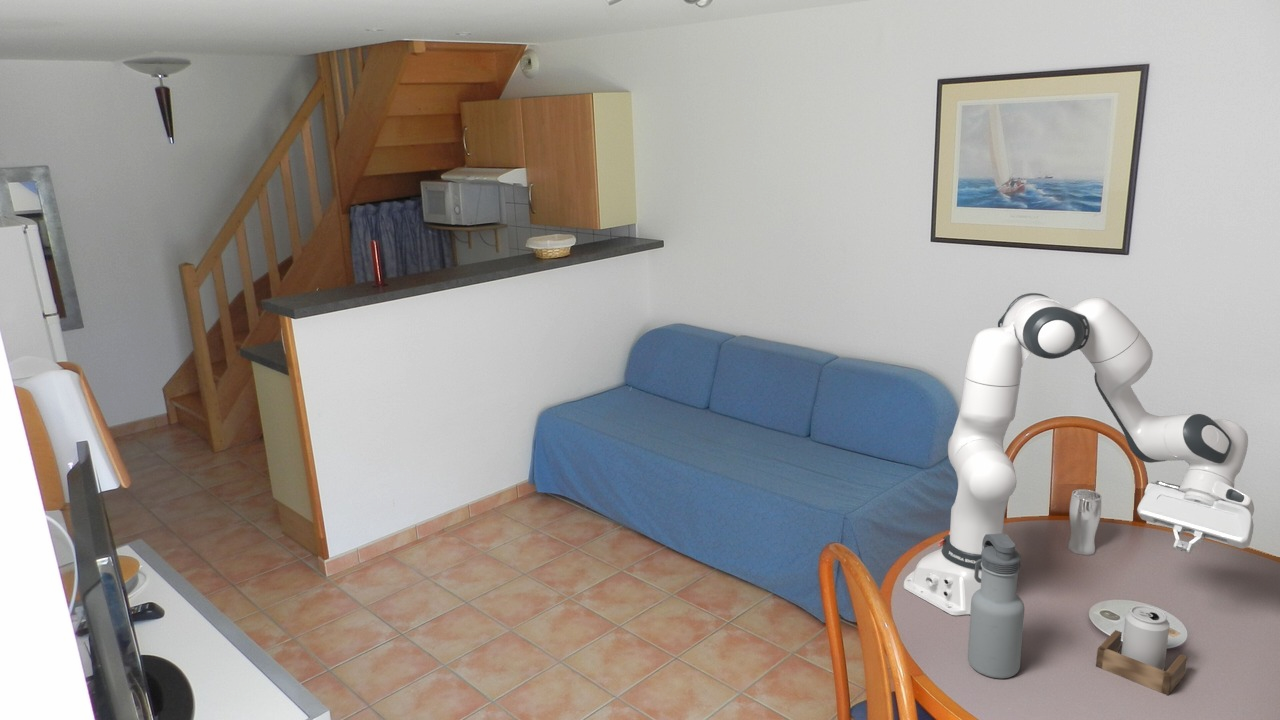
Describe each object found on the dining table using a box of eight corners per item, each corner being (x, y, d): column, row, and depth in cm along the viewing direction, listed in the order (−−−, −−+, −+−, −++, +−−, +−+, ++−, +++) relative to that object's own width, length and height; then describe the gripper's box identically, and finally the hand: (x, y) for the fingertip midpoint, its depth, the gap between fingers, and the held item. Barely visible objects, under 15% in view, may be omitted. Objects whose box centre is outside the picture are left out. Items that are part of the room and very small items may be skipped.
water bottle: (960, 650, 178) (967, 527, 170) (1007, 649, 177) (1016, 526, 170) (977, 681, 168) (985, 552, 160) (1027, 679, 167) (1038, 550, 160)
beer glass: (1098, 546, 216) (1103, 491, 212) (1095, 558, 211) (1101, 502, 207) (1067, 540, 220) (1072, 486, 216) (1064, 552, 214) (1069, 497, 210)
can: (1167, 680, 165) (1174, 626, 162) (1123, 673, 168) (1129, 619, 165) (1160, 658, 172) (1166, 605, 169) (1117, 651, 174) (1123, 599, 171)
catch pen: (1095, 666, 170) (1097, 648, 169) (1113, 647, 176) (1115, 630, 175) (1168, 695, 161) (1170, 677, 160) (1184, 674, 167) (1187, 656, 166)
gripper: (1147, 471, 184) (1124, 527, 180) (1260, 500, 169) (1237, 561, 165) (1152, 484, 188) (1129, 539, 184) (1263, 514, 173) (1240, 574, 169)
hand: (1181, 550), depth 175 cm, fingers closed
